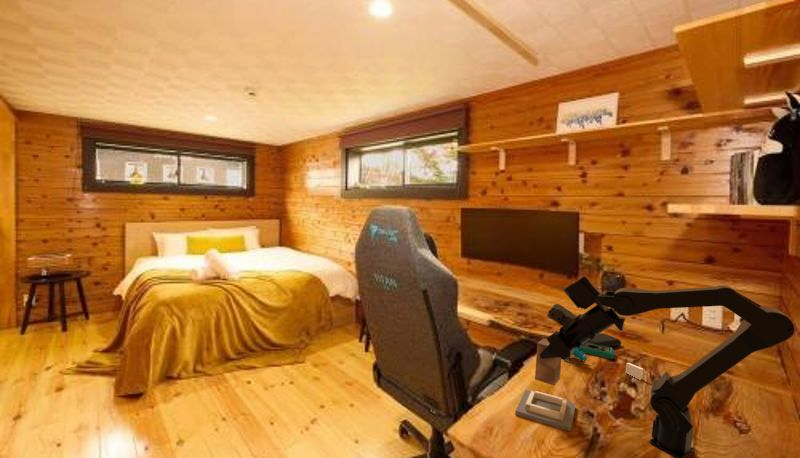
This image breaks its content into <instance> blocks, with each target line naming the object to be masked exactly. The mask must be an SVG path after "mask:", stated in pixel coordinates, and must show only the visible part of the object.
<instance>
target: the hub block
mask: <svg viewBox="0 0 800 458" xmlns="http://www.w3.org/2000/svg"><path fill="white" fill-rule="evenodd" d="M549 344H550V343H549V342H548V341H547V338H542V339H541V340H540V341H538V342H537V343H536V357H535V358H536V359H535V360H536V361H535V371H534V380H536V381H539V382H542V383H545V384H548V385H551V386H555V385H556V384H557V383H558V382H559V381H560V380H561V368H562V359H561V357H556V358H543V359H542V358H541V357H540V356H539V355H540V354H541V353H542V351H543V350H544V349H545V348H546V347H547V346H548V345H549Z"/></svg>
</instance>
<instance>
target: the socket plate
mask: <svg viewBox="0 0 800 458" xmlns="http://www.w3.org/2000/svg"><path fill="white" fill-rule="evenodd" d="M575 411H576V403H575V402H571V401H568V398H564V397H560V396H556V395H553V394H549V393H546V392H541V391H537V390H535V389H531V390H527V389H525V390H524V392H523V394H522V396H521V399H520V401H519V403H518V404H517V407H516V408H515V411H514V413H515V414H514V415H517V416H519V417H523V418H525V419H526V418H527V419H529V420H533V421H536V422H538V423H541V424H546V425H548V426H551V427H554V428H558V429H561V430H563V431H564V430H565V431H568V432H572V427H573V422H574V417H575V413H576V412H575Z"/></svg>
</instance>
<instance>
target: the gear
mask: <svg viewBox="0 0 800 458" xmlns="http://www.w3.org/2000/svg"><path fill="white" fill-rule="evenodd" d="M571 356H573V357H575V359H579V360H580V361H581V362H582V361H584V362H586V361H587V359H588V356H586V354H585V353H583V352H582V351H581V352H580V351H579V348H577V347H576V348H574V353H573V354H572V355H571ZM571 356H570V357H568V358H567V359H565V360H563V362H567V361H568V360H569V359H570V358H571Z"/></svg>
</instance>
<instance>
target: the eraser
mask: <svg viewBox="0 0 800 458" xmlns="http://www.w3.org/2000/svg"><path fill="white" fill-rule="evenodd" d="M626 373H627V374H629V375H628V376H630V375H631V376H630V377H632V376H633V377H632V378H634V377H635V378H634V379H636V378H637V379H636V380H638V379H639V381H642V380H643V376H644V368H642V367H640V366H637V365H635V364H634V363H631V362H626V365H625V374H626ZM627 374H626V375H627ZM641 379H642V380H641Z"/></svg>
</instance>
